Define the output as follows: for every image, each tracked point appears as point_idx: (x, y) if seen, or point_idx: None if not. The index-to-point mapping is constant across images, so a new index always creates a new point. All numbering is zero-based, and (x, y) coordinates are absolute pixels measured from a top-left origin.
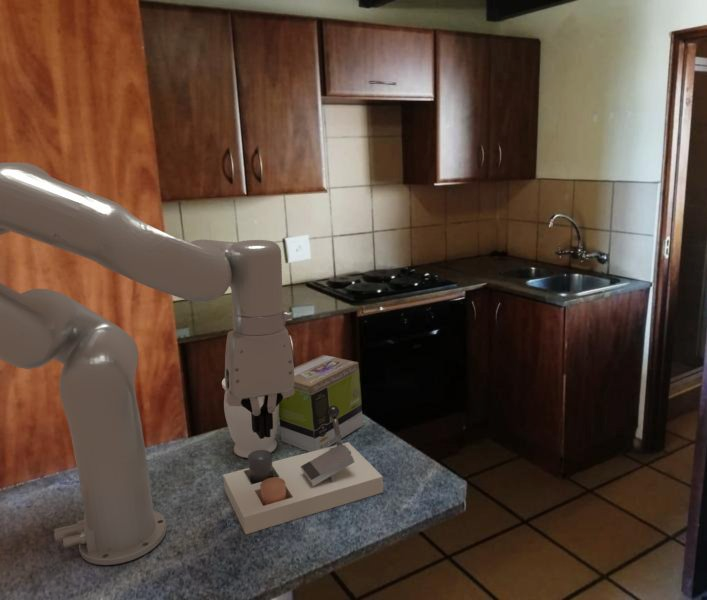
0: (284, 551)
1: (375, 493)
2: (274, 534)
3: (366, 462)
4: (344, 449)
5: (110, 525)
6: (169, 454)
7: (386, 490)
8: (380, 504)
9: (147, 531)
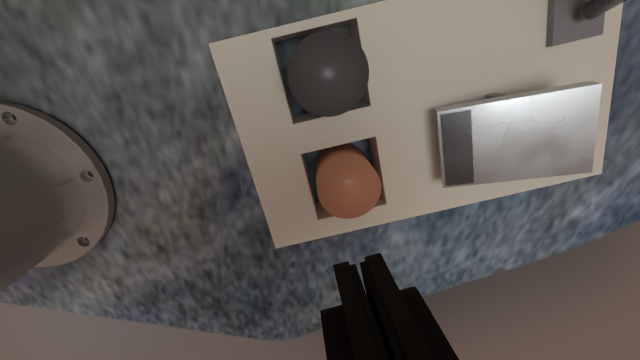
0: None
1: None
2: (330, 237)
3: (606, 97)
4: (594, 122)
5: None
6: None
7: None
8: (540, 198)
9: (71, 231)
